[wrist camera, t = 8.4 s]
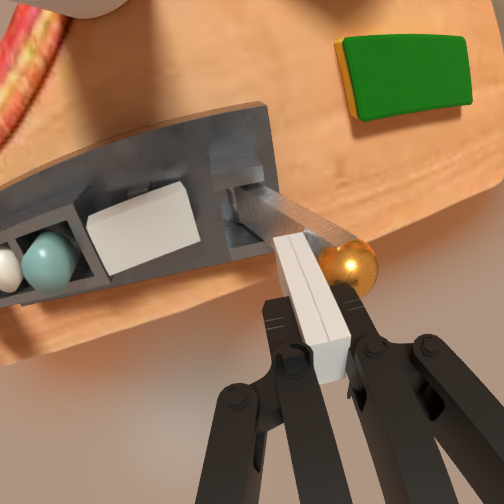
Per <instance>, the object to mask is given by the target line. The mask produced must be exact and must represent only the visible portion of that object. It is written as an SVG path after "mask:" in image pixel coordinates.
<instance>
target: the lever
mask: <svg viewBox="0 0 504 504" xmlns="http://www.w3.org/2000/svg"><path fill="white" fill-rule="evenodd" d="M227 192H228V197H229V202H230V206H231V211H232V215H233V220H234V222H235V223H239V224H244V225H245V226H247V227H248V228H249V229H250V230H252V231H253V232H254V233H255V234H257V235H258V236H259V237H260V238H262V239H263V240H264V241H265V242H267V243H268V244H269V245H270V246H272V247H273V248H274V243H273V238H274V237H279V236H284V235H289V234H295V233H300V232H303V234H304V236H305V238H306V240H307V242H308V244H309V246H310V248H311V250H312V252H313V254H314V256H315V258H316V260H317V262H318V264H319V266H320V269H321V271H322V273H323V275H324V277H325V279H326V281H327V283H328V286H333V285H338V284H342V283H347V284H349V285H350V286H351V287H352V288H354V289H355V291H356V292H357V294H358V296H359V298H360V299H361V298H362V297H364V296H365V295H367V294H368V293H369V292H370V291H371V289H372V288H373V287H374V285H375V283H376V280H377V277H378V261H377V257H376V255H375V253H374V251H373V250H372V248H371V247H370V246H369V245H368V244H367V243H366V242H364V241H362V240H361V239H359V238H357V236H355V235H353V234H351V233H350V232H348V231H346V230H345V229H343V228H341V227H339V226H338V225H336V224H334V223H332V222H331V221H329V220H327V219H325V218H323V217H322V216H320V215H318V214H316V213H315V212H313V211H311V210H309V209H307V208H305V207H304V206H302V205H300V204H298V203H296V202H294V201H293V200H291V199H289V198H287V197H285V196H283V195H281V194H279V193H278V192H276V191H274V190H272V189H270V188H268V187H266V186H264V185H262V184H260V183H258V182H256V183H251V184H246V185H242V186H237V187H232V188H228V189H227Z"/></svg>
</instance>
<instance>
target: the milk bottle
mask: <svg viewBox="0 0 504 504" xmlns="http://www.w3.org/2000/svg"><path fill="white" fill-rule="evenodd" d="M8 1H12V2H17V3H21V4H25V5H29V6H33V7H37V8H41V9H44V10H48V11H52V12H55V13H59V14H62V15H66V16H69V17H73V18H78V19H89V18H95V17H99V16H102V15H105V14H107V13H109V12H111V11H113V10H115V9H117V8H118V7H120V6H121V5H123V4H124V3H125V2H127V1H128V0H8Z"/></svg>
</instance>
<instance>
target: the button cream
mask: <svg viewBox="0 0 504 504" xmlns="http://www.w3.org/2000/svg"><path fill="white" fill-rule="evenodd" d="M23 278H24V274H23V272H22V268H21V266H20V264H19V262H18V260H17V259H16V257H15V255H14V253H13V252H12V250H11V248H10V246H9V244H8V242H5V243H3V244H0V290H2V291H4V292H14V291H16V290H17V288H18V286H19V285H20V283H21V281H22V280H23Z"/></svg>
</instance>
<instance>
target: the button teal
mask: <svg viewBox="0 0 504 504" xmlns="http://www.w3.org/2000/svg"><path fill="white" fill-rule="evenodd" d="M77 262H78V256H77V252H76V249H75V247H74V245H73V244H72V243H71V241H70V240H69V239H68V238H67V237H65V236H64V235H62V234H60V233H58V232H54V231H46V232H43V233H41V234H40V235H39V236H38V237H37V238H36V240H35V241H34V242H33V244H32V245H31V246H30V248H29V249H28V251H27V252H26V253H25V255H24V256H23V258H22V262H21V268H22V272H23V274H24V277H25V278H26V280H27V281H28V283H29V284H30V285H31V286H32V287H33V288H35V289H36V290H38V291H39V292H41V293H44V294H48V295H57V294H60V293H62V292H63V291H64V290H65V289H66V287H67V285H68V282H69V280H70V278H71V276H72V274H73V272H74V270H75V268H76V265H77Z"/></svg>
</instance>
